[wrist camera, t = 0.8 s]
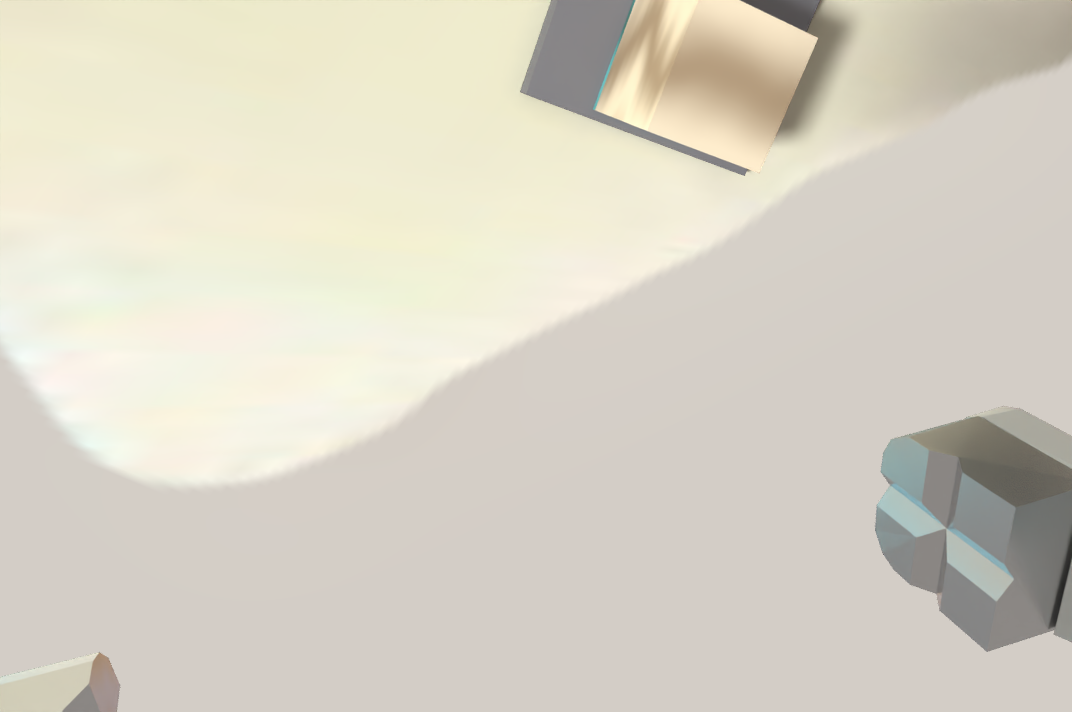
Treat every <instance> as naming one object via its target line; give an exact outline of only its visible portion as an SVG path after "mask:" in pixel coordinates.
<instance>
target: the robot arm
mask: <svg viewBox="0 0 1072 712" xmlns="http://www.w3.org/2000/svg"><path fill="white" fill-rule="evenodd" d="M881 473H882V474H883V476H884V477H885V479H886V480H887V482H888V483H889V484H890V486H889V488H888V489H887V491H886V492H885V494H884V495H883V497H882V498H881V500H880V501H879V503H878V504H877V510H876V525H875V531H876V534H877V538H878V540H879V544H880V547H881V550H882V553H883V555H884V556H885V558H886V559H887V561H888V562H889V563H890V565H891V566H892V568H893V569H894V570H895V571H896V572H897V573H898V574H899V575H900V576H901V577H902V578H903V579H905V580H906V581H907V582H908V583H909V584H910V585H913V586H916V587H919V588H921V589H925V590H927V591H930V592H933V593H936V594H937V600H938V605H939V610H940V611H941V612H942V613H943V614H944V615H945V616H946V617H948V618H949V619H950V620H951V621H952V622H953V623H954V624H956V625H957V626H958V627H959V628H960V629H961V630H963V631H964V632H965V633H966V634H967V635H968V636H970V637H971V638H972V639H973V640H974V641H975V642H976V643H977V644H979V645H980V646H981V647H982V648H983V649H984V650H985V651H987V652H988V651H991V650H994V649H997V648H1000V647H1003V646H1006V645H1009V644H1013V643H1016V642H1019V641H1022V640H1025V639H1028V638H1031V637H1034V636H1037V635H1040V634H1043V633H1046V632H1050V631H1053V630H1055V631H1054V635H1056V636H1059V637H1061V638H1063V639H1066V640H1068V641H1070V642H1072V436H1071V435H1069V434H1067V433H1065V432H1063V431H1061V430H1060V429H1058V428H1056V427H1054V426H1052V425H1050V424H1048V423H1046V422H1045V421H1043V420H1041V419H1039V418H1037V417H1035V416H1033V415H1031V414H1030V413H1028V412H1026V411H1024V410H1022V409H1020V408H1013V407H1006V406H1002V407H998V408H995V409H992V410H988V411H985V412H982V413H979V414H975V415H972V416H968V417H966V418H965V419H963V420H959V421H956V422H952V423H949V424H945V425H941V426H938V427H934V428H930V429H927V430H923V431H920V432H916V433H913V434H909V435H905V436H901V437H898V438H894V439H891V440H890V442H889V444H888V445H887V447H886V449H885V451H884V452H883V459H882V466H881ZM119 691H120V684H119V682H118V679H117V677H116V675H115V673H114V670H113V668H112V665H111V663H110V661H109V658H108V657H106V656H105V655H103V654H101V653H100V652H99V653H95V654H91V655H87V656H83V657H79V658H75V659H71V660H67V661H63V662H58V663H54V664H51V665H47V666H43V667H38V668H34V669H30V670H27V671H22V672H18V673H14V674H10V675H7V676H2V677H0V712H117V707H118V699H119Z"/></svg>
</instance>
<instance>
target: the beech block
mask: <svg viewBox="0 0 1072 712" xmlns="http://www.w3.org/2000/svg"><path fill="white" fill-rule="evenodd" d="M817 40H818V38H817V37H815V36H813V35H811V34H809V33H807V32H805V31H803V30H800V29H798V28H796V27H794V26H792V25H790V24H788V23H786V22H784V21H782V20H780V19H778V18H775V17H773V16H771V15H769V14H767V13H765V12H763V11H761V10H759V9H757V8H755V7H753V6H751V5H748V4H746V3H744V2H742V1H740V0H633V2H632V5H631V8H630V10H629V13H628V16H627V19H626V21H625V24H624V27H623V29H622V32H621V35H620V38H619V40H618V43H617V46H616V48H615V51H614V54H613V56H612V59H611V62H610V65H609V67H608V70H607V73H606V75H605V78H604V81H603V84H602V86H601V89H600V92H599V94H598V97H597V100H596V103H595V105H594V108H593V110H596V111H598V112H601V113H603V114H606V115H608V116H611V117H613V118H616V119H618V120H621V121H623V122H626V123H628V124H631V125H633V126H636V127H638V128H641V129H643V130H646V131H648V132H651V133H654V134H656V135H659V136H662V137H664V138H667V139H670V140H672V141H675V142H678V143H680V144H683V145H686V146H688V147H691V148H693V149H696V150H699V151H701V152H704V153H707V154H709V155H712V156H715V157H717V158H720V159H723V160H725V161H728V162H731V163H733V164H736V165H739V166H741V167H744V168H746V169H749V170H752V171H754V172H757V173H760V171H761V168H762V166H763V164H764V162H765V159H766V157H767V155H768V152H769V150H770V148H771V145H772V143H773V141H774V139H775V136H776V134H777V132H778V129H779V127H780V125H781V123H782V120H783V118H784V116H785V113H786V111H787V109H788V106H789V104H790V102H791V100H792V97H793V95H794V93H795V90H796V88H797V86H798V83H799V81H800V79H801V77H802V74H803V72H804V70H805V67H806V65H807V63H808V60H809V58H810V56H811V54H812V51H813V49H814V47H815V44H816V42H817Z"/></svg>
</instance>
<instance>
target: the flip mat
mask: <svg viewBox="0 0 1072 712" xmlns="http://www.w3.org/2000/svg"><path fill="white" fill-rule="evenodd" d="M740 1H742V2H744V3H746V4H748V5H751V6H753V7H755V8H757V9H759V10H761V11H763V12H765V13H767V14H769V15H771V16H773V17H775V18H778V19H780V20H782V21H784V22H786V23H788V24H790V25H792V26H794V27H796V28H798V29H800V30H803V31H805V32H807V30H808V27H809V25H810V23H811V20H812V18H813V16H814V13H815V11H816V9H817V6H818V4H819V2H820V0H740ZM632 2H633V0H551V3H550V6H549V9H548V12H547V15H546V18H545V21H544V23H543V26H542V29H541V32H540V35H539V38H538V41H537V44H536V47H535V50H534V53H533V56H532V59H531V61H530V64H529V67H528V70H527V73H526V76H525V79H524V82H523V85H522V88H521V91H520V92H521V93H524V94H526V95H529V96H531V97H534V98H537V99H539V100H542V101H545V102H548V103H550V104H553V105H556V106H558V107H561V108H564V109H566V110H569V111H572V112H574V113H577V114H580V115H582V116H585V117H588V118H590V119H593V120H596V121H599V122H601V123H604V124H607V125H609V126H612V127H615V128H617V129H620V130H623V131H625V132H628V133H631V134H633V135H636V136H639V137H642V138H644V139H647V140H650V141H652V142H655V143H658V144H660V145H663V146H666V147H668V148H671V149H674V150H676V151H679V152H682V153H684V154H687V155H690V156H693V157H695V158H698V159H701V160H703V161H706V162H709V163H711V164H714V165H717V166H719V167H722V168H725V169H727V170H730V171H733V172H736V173H738V174H741V175H744V176H745V174H746V171H747V169H746V168H744V167H741V166H739V165H736V164H733V163H731V162H728V161H725V160H723V159H720V158H717V157H715V156H712V155H709V154H707V153H704V152H701V151H699V150H696V149H693V148H691V147H688V146H686V145H683V144H680V143H678V142H675V141H672V140H670V139H667V138H664V137H662V136H659V135H656V134H654V133H651V132H648V131H646V130H643V129H641V128H638V127H636V126H633V125H631V124H628V123H626V122H623V121H621V120H618V119H616V118H613V117H611V116H608V115H606V114H603V113H601V112H598V111H596V110H593V108H594V105H595V103H596V100H597V97H598V94H599V92H600V89H601V86H602V84H603V81H604V78H605V75H606V73H607V70H608V67H609V65H610V62H611V59H612V56H613V54H614V51H615V48H616V46H617V43H618V40H619V38H620V35H621V32H622V29H623V27H624V24H625V21H626V19H627V16H628V13H629V10H630V8H631V5H632Z"/></svg>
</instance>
